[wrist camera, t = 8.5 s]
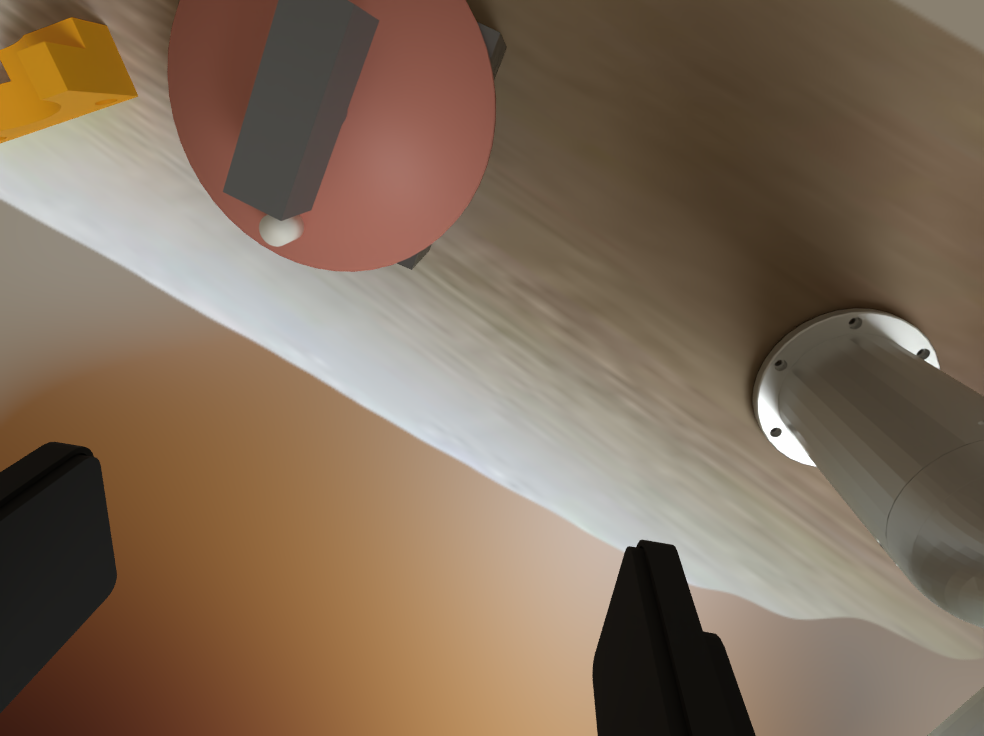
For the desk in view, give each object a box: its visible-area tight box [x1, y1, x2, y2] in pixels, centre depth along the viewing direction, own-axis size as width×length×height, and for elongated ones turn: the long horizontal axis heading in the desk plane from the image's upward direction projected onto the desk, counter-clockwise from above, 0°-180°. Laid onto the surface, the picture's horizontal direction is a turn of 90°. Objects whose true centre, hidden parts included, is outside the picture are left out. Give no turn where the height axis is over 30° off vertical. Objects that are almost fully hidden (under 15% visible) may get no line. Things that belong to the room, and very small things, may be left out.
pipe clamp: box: [0, 17, 138, 143], centre depth 37 cm, size 12×4×6 cm, turn 105°
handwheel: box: [168, 0, 496, 272], centre depth 29 cm, size 18×18×7 cm
